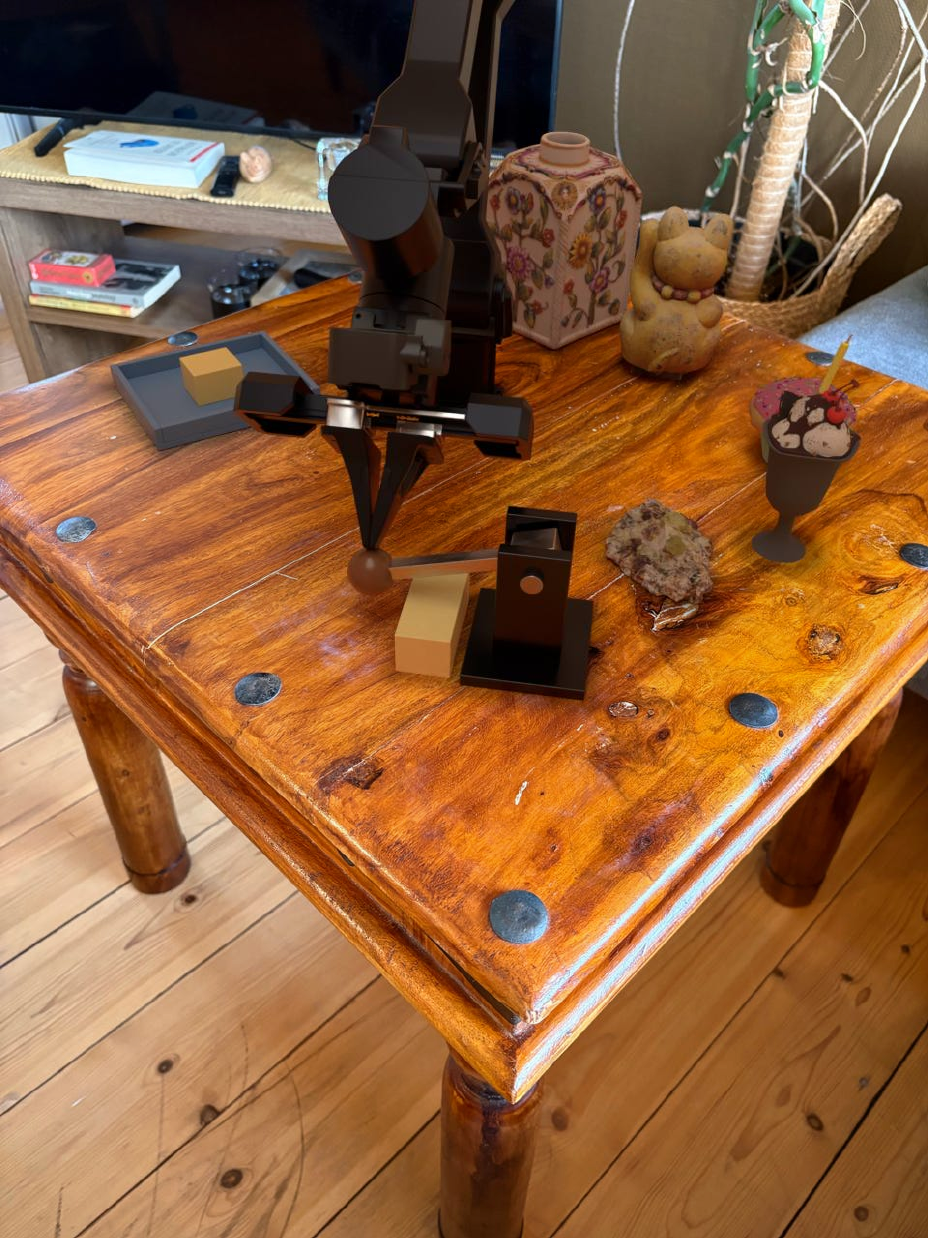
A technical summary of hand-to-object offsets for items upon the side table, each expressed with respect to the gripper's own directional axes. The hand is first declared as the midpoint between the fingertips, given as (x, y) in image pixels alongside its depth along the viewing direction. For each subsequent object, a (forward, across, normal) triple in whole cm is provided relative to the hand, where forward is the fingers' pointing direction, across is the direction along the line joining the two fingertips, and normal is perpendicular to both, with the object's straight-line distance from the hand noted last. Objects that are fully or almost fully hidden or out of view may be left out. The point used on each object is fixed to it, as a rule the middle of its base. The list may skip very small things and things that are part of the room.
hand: (370, 548), depth 63 cm
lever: (+1, +6, +1) cm, 6 cm away
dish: (-15, -22, +25) cm, 37 cm away
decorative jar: (-32, +7, +42) cm, 53 cm away
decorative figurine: (-25, +19, +35) cm, 47 cm away
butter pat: (-16, -22, +25) cm, 36 cm away
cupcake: (-15, +30, +25) cm, 42 cm away
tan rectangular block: (+5, +4, +5) cm, 8 cm away
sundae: (-5, +28, +15) cm, 33 cm away
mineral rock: (-3, +19, +13) cm, 23 cm away
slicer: (+5, +11, +5) cm, 13 cm away
